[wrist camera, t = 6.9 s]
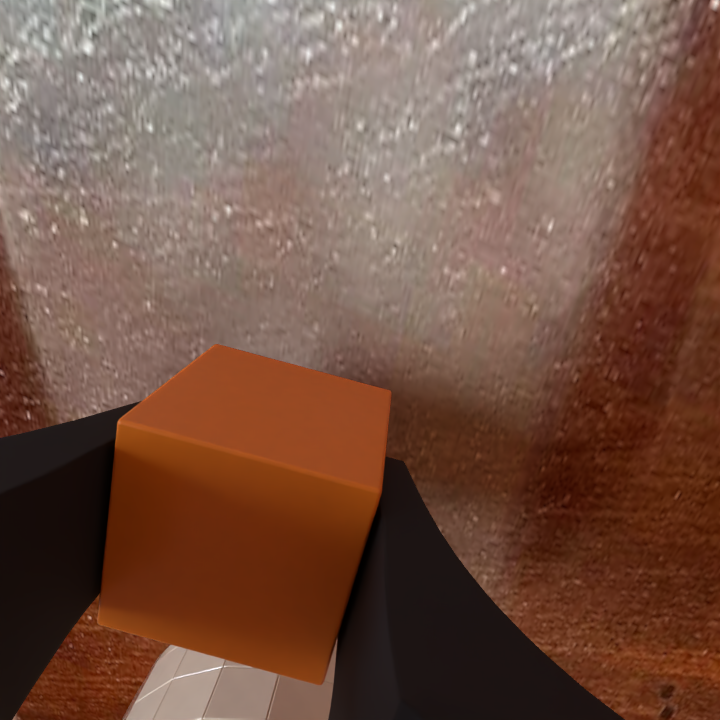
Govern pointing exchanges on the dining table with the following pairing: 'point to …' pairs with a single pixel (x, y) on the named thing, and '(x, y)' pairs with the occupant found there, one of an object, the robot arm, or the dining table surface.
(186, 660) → the bowl
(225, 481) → the block
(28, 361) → the dining table surface
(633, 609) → the dining table surface
